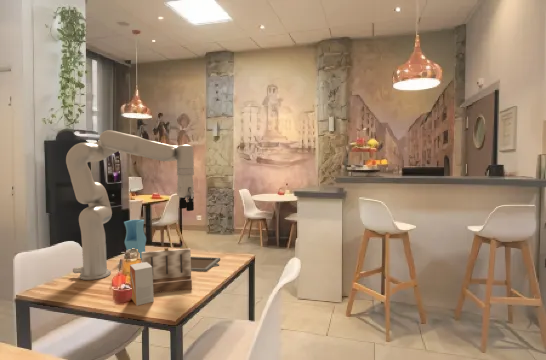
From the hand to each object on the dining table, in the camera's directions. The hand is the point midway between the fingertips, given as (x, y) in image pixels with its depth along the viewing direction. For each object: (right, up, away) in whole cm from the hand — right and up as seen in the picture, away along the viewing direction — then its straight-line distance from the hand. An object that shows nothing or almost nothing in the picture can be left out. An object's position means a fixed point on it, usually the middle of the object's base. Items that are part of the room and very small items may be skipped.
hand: (186, 209), depth 157 cm
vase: (-34, -29, +27) cm, 52 cm away
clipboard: (-2, -29, +14) cm, 32 cm away
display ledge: (-4, -30, -16) cm, 34 cm away
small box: (-9, -31, -30) cm, 44 cm away
